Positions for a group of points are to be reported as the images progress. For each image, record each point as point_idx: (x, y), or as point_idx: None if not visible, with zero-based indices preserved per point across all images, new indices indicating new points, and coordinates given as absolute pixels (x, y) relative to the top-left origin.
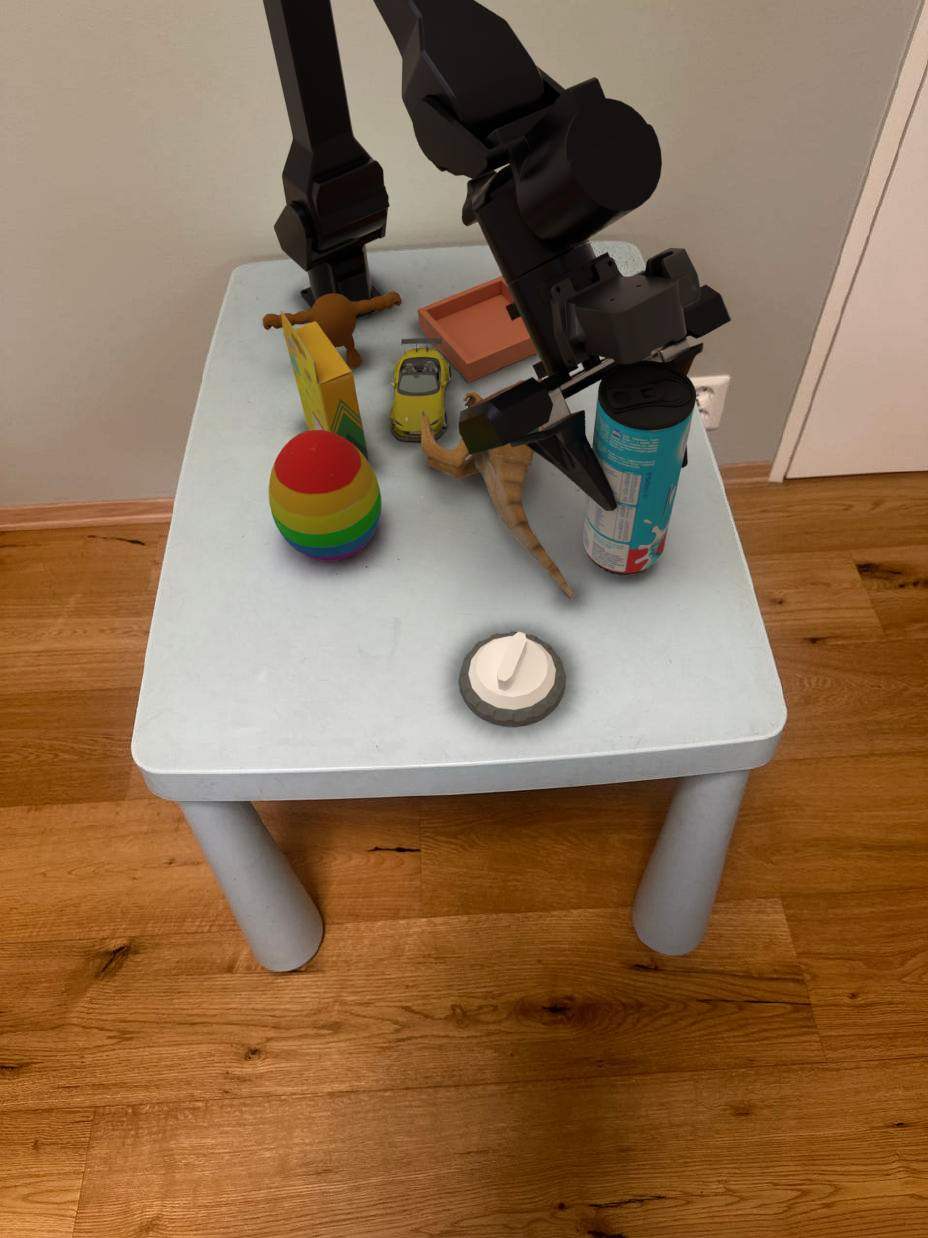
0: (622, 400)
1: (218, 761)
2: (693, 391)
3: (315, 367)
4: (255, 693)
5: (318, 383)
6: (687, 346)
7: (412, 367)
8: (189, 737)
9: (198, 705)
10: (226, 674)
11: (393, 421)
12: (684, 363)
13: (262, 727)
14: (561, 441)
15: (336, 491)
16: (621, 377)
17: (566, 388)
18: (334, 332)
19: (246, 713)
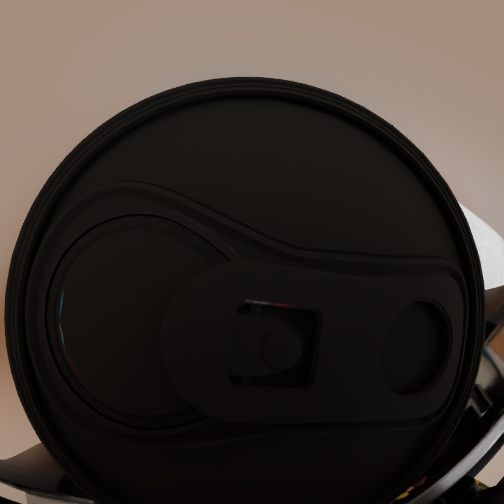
0: (406, 342)
1: (492, 230)
2: (24, 243)
3: (489, 487)
4: (484, 266)
5: (479, 481)
6: (29, 497)
7: None
8: (500, 250)
9: (498, 269)
10: (492, 285)
11: None
12: (36, 462)
13: (482, 242)
14: None
15: None
16: (340, 488)
17: (443, 455)
18: None
19: (487, 254)
